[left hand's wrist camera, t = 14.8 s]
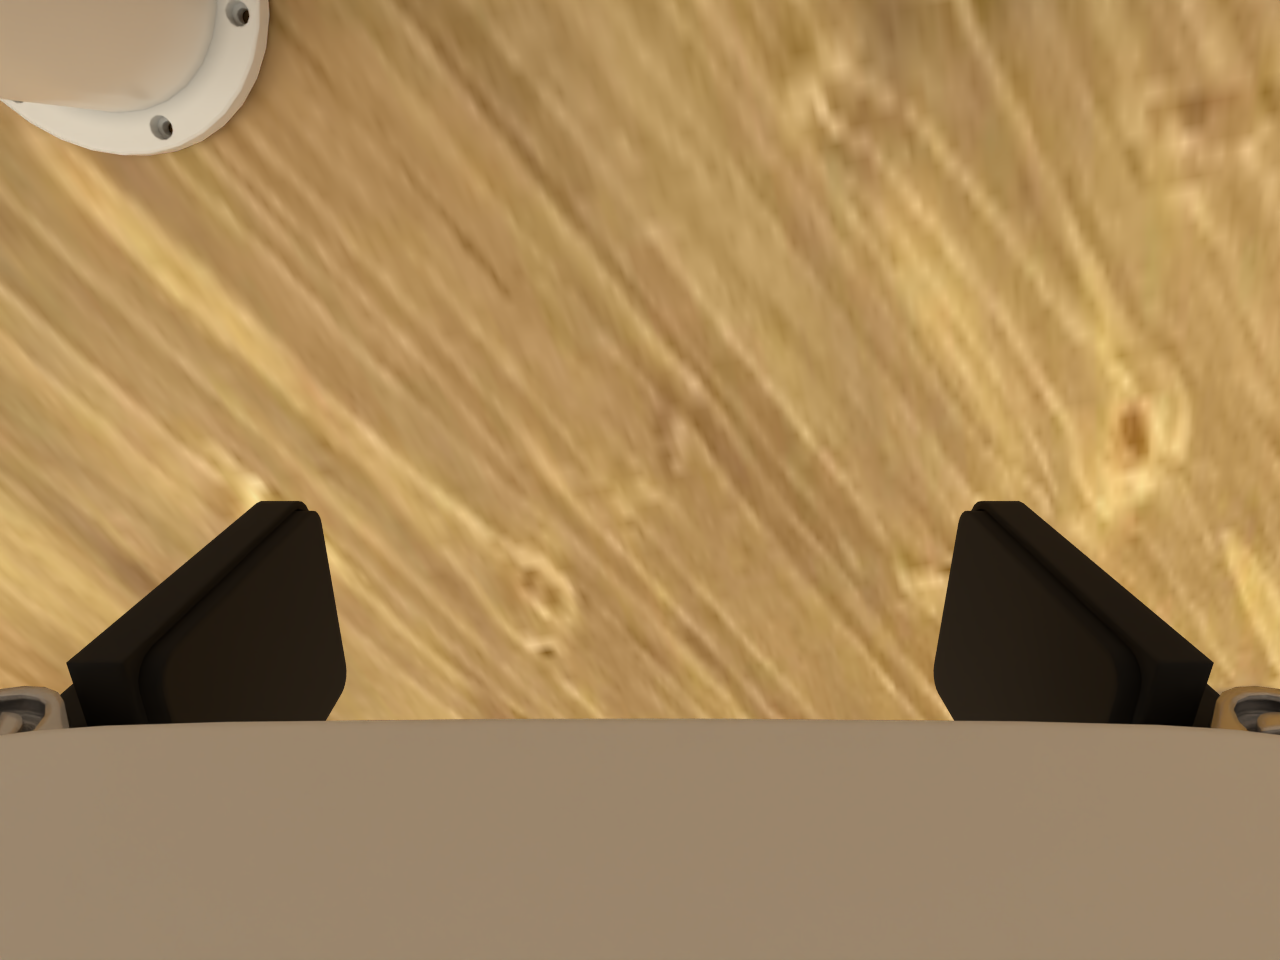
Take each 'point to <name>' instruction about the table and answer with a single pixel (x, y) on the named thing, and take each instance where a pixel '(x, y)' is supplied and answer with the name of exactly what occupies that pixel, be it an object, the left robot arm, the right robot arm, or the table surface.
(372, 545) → the table surface
